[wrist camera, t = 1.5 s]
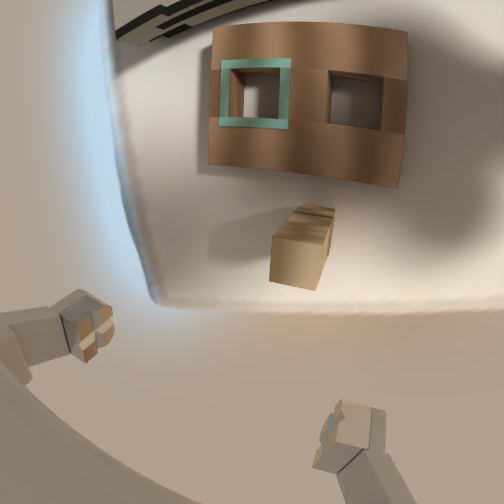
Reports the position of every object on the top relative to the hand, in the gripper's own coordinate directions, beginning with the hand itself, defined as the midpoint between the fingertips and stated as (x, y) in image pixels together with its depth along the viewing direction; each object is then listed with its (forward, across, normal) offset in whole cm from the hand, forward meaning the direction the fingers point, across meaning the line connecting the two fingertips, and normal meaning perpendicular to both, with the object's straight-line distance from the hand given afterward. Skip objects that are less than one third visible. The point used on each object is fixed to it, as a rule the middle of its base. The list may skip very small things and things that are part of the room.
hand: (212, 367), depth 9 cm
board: (+28, +4, -10) cm, 30 cm away
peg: (+28, 0, +3) cm, 28 cm away
